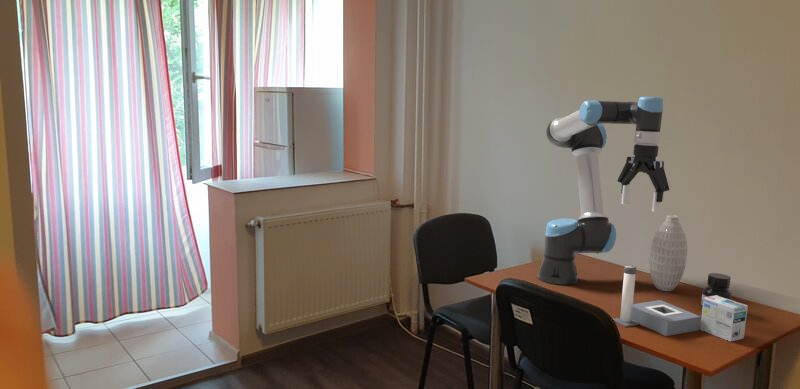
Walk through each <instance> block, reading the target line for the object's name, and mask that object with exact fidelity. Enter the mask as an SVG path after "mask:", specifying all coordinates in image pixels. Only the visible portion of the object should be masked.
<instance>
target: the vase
mask: <svg viewBox="0 0 800 389" xmlns="http://www.w3.org/2000/svg"><path fill="white" fill-rule="evenodd" d="M687 258H688V242H687V237H686V233H685V231H684V229H683V227H682V224H681V223H680V220H679V216H678V215H674V214H667V215H666V218H665V220H664V221H663V222H662V223H661V225H660V226H659V227H658V228H657V230H656V232H655V234H654V235H653V238H652V241H651V246H650V250H649V259H648V260H649V271H650V272H649V274H650V277H651V280H652V283H653V284H654V286H655V288H656V289H657V290H660V291H662V292H672V291H674V289H675V288H677V286H678V285H679V283H680V282H681V280H682V277H683V275H684V272H685V269H686V266H687V260H688V259H687Z"/></svg>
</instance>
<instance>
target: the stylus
mask: <svg viewBox="0 0 800 389" xmlns="http://www.w3.org/2000/svg"><path fill="white" fill-rule="evenodd" d="M623 267H624V269H623V282H622V291H621V292H622V294H621V304H620V307H621V308H620V316H619V318H620V321H621V322H624V323H631V320H632V308H633V304H634V297H635V286H636V283H635V282H636V273H637V266H636V265H631V264H625V265H624V266H623Z"/></svg>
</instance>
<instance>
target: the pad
mask: <svg viewBox="0 0 800 389" xmlns="http://www.w3.org/2000/svg"><path fill="white" fill-rule="evenodd" d="M612 319H613V320H614V321H615V323H616V324H618V325H620V326H623V327H624V328H627V327H633V326H639V325H641V324H640V323H639V322H637V321H634V320H631V323H624V322H621V321H620V317H615V318H612ZM614 321H613V322H614Z"/></svg>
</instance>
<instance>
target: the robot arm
mask: <svg viewBox="0 0 800 389" xmlns="http://www.w3.org/2000/svg"><path fill="white" fill-rule="evenodd" d="M663 107H664V100H663V98H662V97H658V96H641V97H639V99H638V101H610V100H609V101H608V100H585V101H583V102H582V104H581V105H580V107H579V109H578V110H575V111H574V112H572V113H571V114H568V115H566V116H561V117H557V118H555V119H553V120H551V121H550V122H549V123H548V124H547V127H546V131H545V133H546V137H547V139H548V141H549V143H551V144H552V145H554V146H556V147H558V148H563V149H565V148H566V149H570V151H571V154H572V156H574V157H575V162H576V172H577V183H578V184H577V185H578V193H579V195H578V196H579V205H580V206H579V208H580V215H579V217H578V218H577V219H574V218H556V219H553V220H550V221H548V222H547V224H546V228H545V232H544V234H545V237H544V249H543V251H544V252H543V259H542V262H541V264H540V267H539V269H538V271H537V278H538V280H540V281H543V282H546V283H548V284H554V285H562V286H563V285H564V286H565V285H566V286H567V285H574V284H576V283H578V281H579V279H578V278H579V275H578V270H577V265H576V263H575V258H576V254H598V255H599V254H606V253H610V251H611V250H612V249H613V248H614V245H615V244H616V238H617V230H616V226H615V225H614V223H612V222H609V217H608V216H607V214H605V213H604V203H603V194H602V180H601V170H600V160H599V159H600V158H599V155H600V154H601V152H602V151H603V150H602V149H603V148H604V147H605V146H606V143H607V141H606V140H607V139H608V138H607V131H606V128H605V124H612V125H613V124H614V125H617V124H618V125H635V134H634V135H635V136H634V143H635V144H634V146H633V156H627V157H626V161H625V164H624V166H623V167H622V170H621V172H620V174H619V175H618V178H617V182H618V183H620V184H621V190H620V192H621V203H620V204H621V205H629V204H630V195H631V186H632V185H631V182H632V181H633V180H634V179H635V178H636V176H637V175H638V174H639V173H643V174H646V175H648V177H649V179H650V182H651V183H652V186H653V187H654V191H653V196H652V197H653V198H652V207H651V212H653V213H657V212H659V213H661V205H662V204H661V203H662V202H663V200H664V193H665V192H669V191H670V186H669V182H668V179H667V178H668V177H667V175H666V171H665V162H664V160H656V158H657V157H658V155H659V144H660V137H661V136H660V135H661V127H662V118H663V111H664V108H663Z"/></svg>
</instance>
